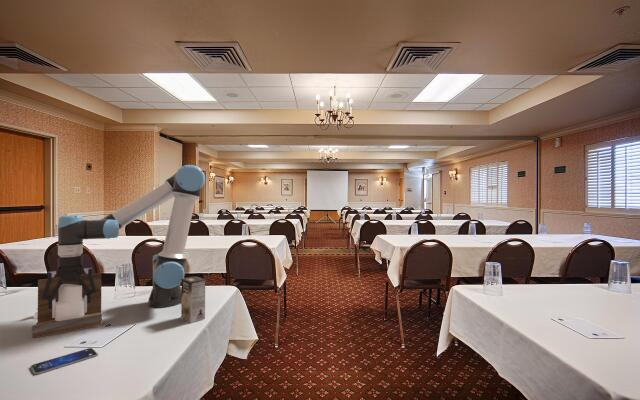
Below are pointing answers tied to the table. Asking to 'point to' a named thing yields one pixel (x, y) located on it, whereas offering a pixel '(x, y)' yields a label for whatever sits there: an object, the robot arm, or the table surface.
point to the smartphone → (63, 361)
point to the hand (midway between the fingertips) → (70, 314)
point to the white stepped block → (69, 302)
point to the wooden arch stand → (52, 326)
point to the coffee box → (193, 299)
